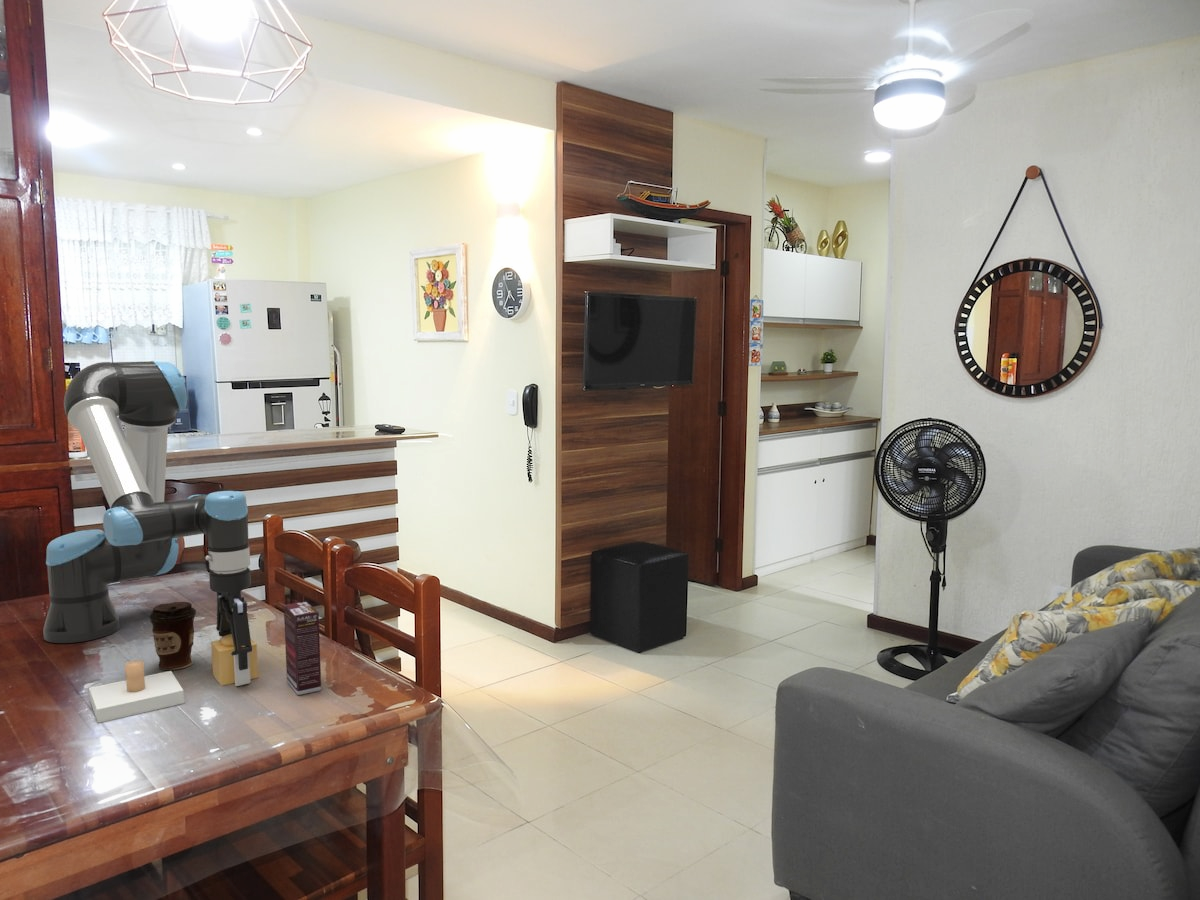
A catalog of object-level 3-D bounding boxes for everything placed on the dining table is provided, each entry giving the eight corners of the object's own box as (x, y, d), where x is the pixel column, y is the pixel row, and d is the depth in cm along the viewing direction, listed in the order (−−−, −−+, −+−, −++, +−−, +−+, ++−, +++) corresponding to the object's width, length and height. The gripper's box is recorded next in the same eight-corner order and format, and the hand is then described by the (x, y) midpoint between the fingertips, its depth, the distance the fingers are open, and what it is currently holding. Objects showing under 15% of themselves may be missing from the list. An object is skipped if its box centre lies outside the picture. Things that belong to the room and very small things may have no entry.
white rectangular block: (90, 700, 158) (87, 662, 157) (171, 682, 167) (169, 646, 166) (97, 723, 149) (94, 682, 148) (184, 703, 157) (181, 664, 156)
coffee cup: (178, 675, 171) (174, 613, 169) (143, 672, 172) (138, 610, 171) (206, 659, 179) (203, 600, 177) (172, 656, 181) (168, 598, 179)
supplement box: (322, 690, 163) (319, 611, 161) (297, 696, 160) (293, 616, 158) (310, 676, 170) (307, 600, 168) (285, 681, 167) (282, 604, 165)
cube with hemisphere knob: (212, 674, 171) (210, 636, 170) (249, 667, 175) (247, 629, 174) (221, 685, 165) (218, 645, 164) (258, 677, 169) (256, 638, 168)
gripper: (196, 560, 174) (202, 662, 177) (223, 585, 156) (230, 698, 159) (235, 555, 179) (240, 654, 181) (265, 578, 160) (271, 689, 163)
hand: (235, 675), depth 170 cm, fingers open, 11 cm apart
